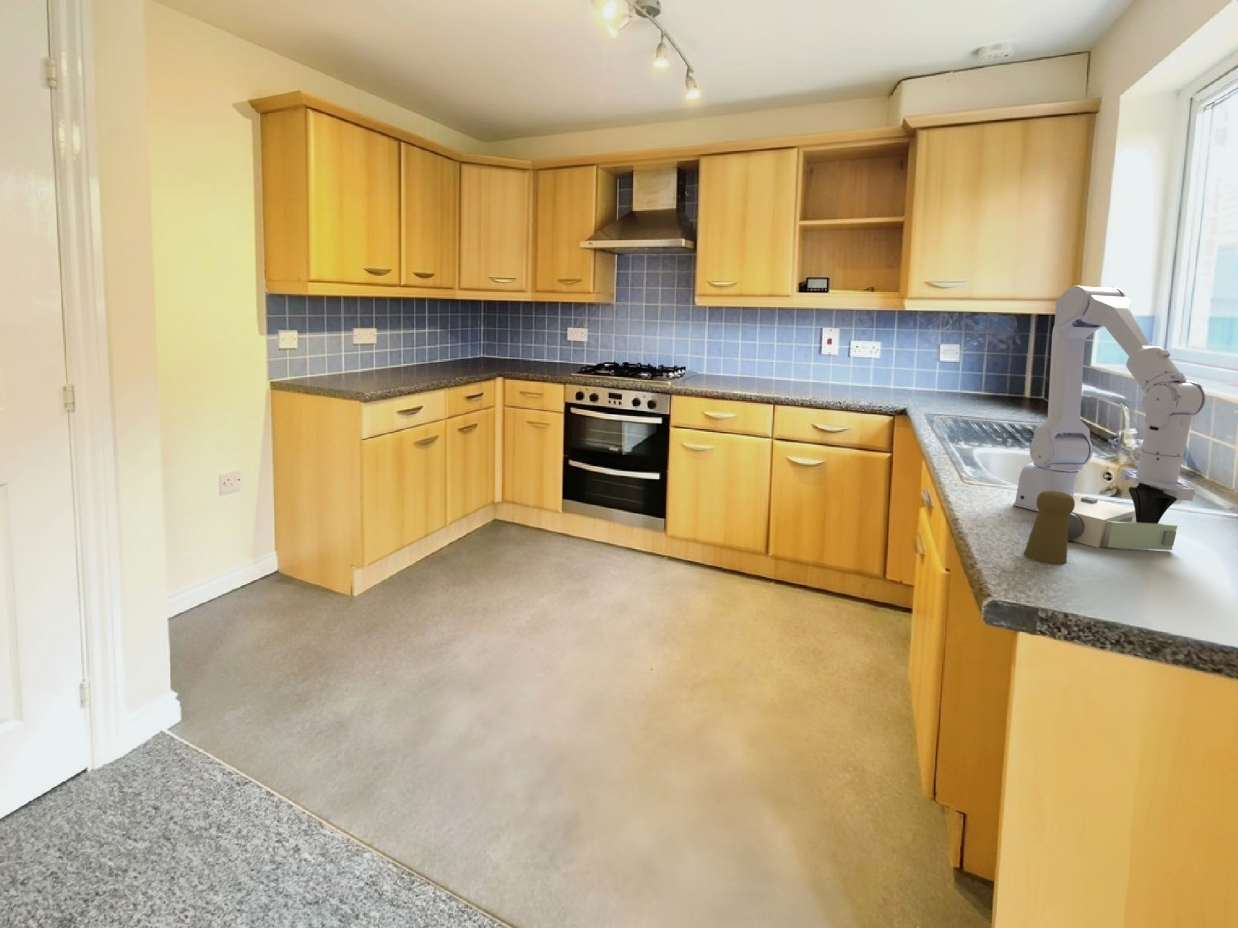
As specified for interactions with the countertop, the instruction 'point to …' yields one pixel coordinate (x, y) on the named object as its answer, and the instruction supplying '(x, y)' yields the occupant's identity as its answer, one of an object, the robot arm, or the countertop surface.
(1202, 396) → the robot arm
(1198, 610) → the countertop surface
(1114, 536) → the side door
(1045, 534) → the cork
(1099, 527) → the camera box
